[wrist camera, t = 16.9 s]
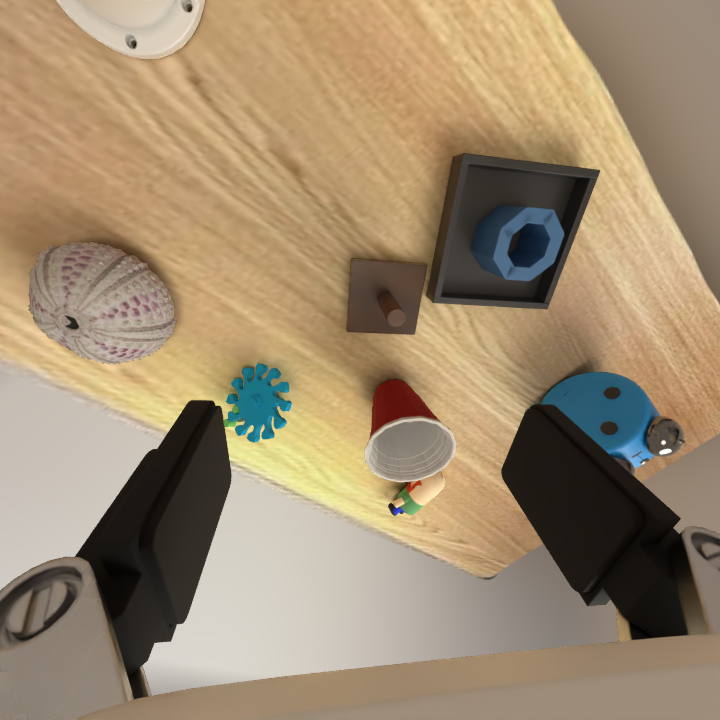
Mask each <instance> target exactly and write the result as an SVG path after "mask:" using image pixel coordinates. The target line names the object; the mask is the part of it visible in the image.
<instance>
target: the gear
mask: <svg viewBox="0 0 720 720" xmlns="http://www.w3.org/2000/svg"><path fill="white" fill-rule="evenodd" d="M267 370H268V366H266V365H264V364H259V363H258V364H257V365H256V373H255V376H254V378H253V380H251V378H252V376H253V374H254V368H248V367H247V368H244V369H242V374H243V376H244V379H245V384H244V388H243V380H242V379H241V378H235V379H234V380H233V381H232V382H231V385H232V386H233V387H234V388H235V389H236V390H237V391H238V394H239V400H238V397H237V395H236V394H229V395H228V397H227V400H226V402H227V403H228V404H235V405H236V406H233V408H232V411H230V412H228V419H225V420H224V427H232V426H235V425H236V421H237V422H243V421H245V423H244V425H238V426H236V427H235V431H236V433H237V435H238V436H240V435H245V434H246V432H247V430H248V428H249V427H250V426H251V425H253V426H254V430H253V431H252V432H251V433H249V434H248V436H247V439H248V440H249V441H251V442H258V441H259V439H260V430H261V427H262V426H263V424H264V426H265V429H264V431H263V432H262V439H270V438H274V432H273V430H272V425H271V422H272V417H274V427H275V428H276V429H280V428H282V427H284V426H285V425H286V423H287V422H286V420H285V419H284V418H282V417H281V416H280V414H279V412H278V410H277V406H280V409H281V410H282V411H289V410H290V408H291V405H292V402H291V401H284V399H280V398H279V397H278V396H277V394H276V393H277V391H280V392H283V393H287V392H289V383H288V382H281V383H279V384H278V385H276V386H272V385H271V380H272V379H274V378H275V379H278V378H280V377H281V373H280V371H279V370H278V369H277V368H272V369H270V371H269V374H268V375H267V377H266V378H264V379H263V380H262V378H261V377H262V375H263V374H264V373H265V372H267Z"/></svg>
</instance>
